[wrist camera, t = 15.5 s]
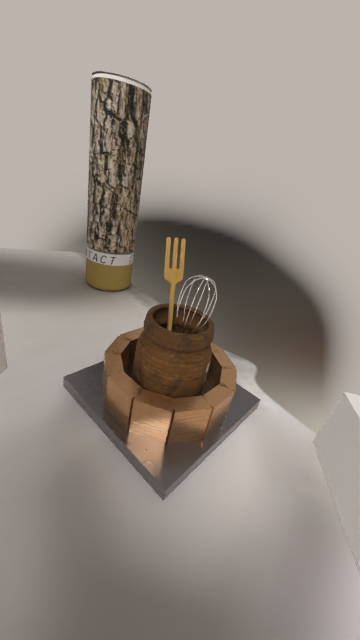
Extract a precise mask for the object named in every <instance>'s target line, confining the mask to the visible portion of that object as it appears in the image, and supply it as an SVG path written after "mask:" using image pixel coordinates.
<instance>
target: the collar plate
mask: <svg viewBox="0 0 360 640" xmlns="http://www.w3.org/2000/svg"><path fill="white" fill-rule="evenodd" d="M143 330H144V328H143V327H142V328H139V329H136V330H133V331H130V332H127V333H124V334H121V335H120V336H118V337H117V338H116V339H115V341H114V342H113V343H112V344H111V345H110V346H109V347H108V349H107V350H106V351H105V354H104V361H103V362H100V363H98V364H95V365H93V366H90V367H88V368H85V369H83V370H80V371H78V372H75V373H72V374H70V375H67V376H65V377H64V387H65V388H66V389H67V390H68V392H69V393H70V394H71V395H72V396H73V397H74V399H75V400H76V401H77V402H78V403H79V404H80V405H81V407H82V408H83V409H84V410H85V411H86V412H87V413H88V415H89V416H90V417H91V418H92V419H93V420H94V421H95V423H96V424H97V425H98V426H99V427H100V428H101V429H102V431H103V432H104V433H105V434H106V435H107V436H108V438H109V439H110V440H111V441H112V442H113V443H114V444H115V446H116V447H117V448H118V449H119V450H120V451H121V452H122V454H123V455H124V456H125V457H126V458H127V459H128V460H129V462H130V463H131V464H132V465H133V466H134V467H135V468H136V470H137V471H138V472H139V473H140V474H141V475H142V476H143V478H144V479H145V480H146V481H147V482H148V483H149V485H150V486H151V487H152V488H153V489H154V490H155V491H156V493H157V494H158V495H159V496H160V497H161V498H162V499H163V500H164V499H165V498H166V497H167V496H168V495H169V494H170V493H171V492H172V491H173V490H174V489H175V488H176V487H177V486H178V485H179V484H180V483H181V482H182V481H183V480H184V479H185V478H186V477H187V476H188V475H189V474H190V473H191V472H192V471H193V470H194V469H195V468H196V467H197V466H198V465H199V464H200V463H201V462H202V461H203V460H204V459H205V458H206V457H207V456H208V455H209V454H211V453H212V452H213V451H214V450H215V449H216V448H217V447H218V446H219V445H220V444H221V443H222V442H223V441H224V440H225V439H226V438H227V437H228V436H229V435H230V434H231V433H232V432H233V431H234V430H235V429H236V428H237V427H238V426H239V425H240V424H241V423H242V422H243V421H244V420H245V419H246V418H247V417H248V416H249V415H250V414H251V413H252V412H253V411H254V410H255V409H256V408H257V406H258V404H259V402H260V399H258V398H257V397H255V396H254V395H253V394H251V393H250V392H248V391H247V390H245V389H244V388H242V387H241V386H239V385H238V384H236V371H237V370H236V368H235V366H234V365H233V363H232V362H231V361H230V359H229V358H228V356H227V355H226V354H225V352H224V351H223V350H222V349H221V348H219V347H218V346H216V345H215V344H213V343H211V344H210V345H211V349H212V356H211V362H210V366H209V370H208V373H207V376H206V380H205V383H204V386H203V389H202V392H201V395H200V396H194V397H183V398H171V397H168V396H164V395H161V394H158V393H155V392H151V391H148V390H145V389H143V388H142V387H141V386H139V385H138V384H137V383H136V382H135V381H134V380H133V379H132V372H133V365H134V357H135V351H136V346H137V341H138V339H139V336H140V334H141V333H142V331H143Z"/></svg>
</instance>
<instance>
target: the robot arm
mask: <svg viewBox="0 0 360 640" xmlns="http://www.w3.org/2000/svg"><path fill="white" fill-rule="evenodd" d="M6 368H7V361H6V354H5V346H4V338H3V331H2V323H1V316H0V374H1V373H2V372H3V371H4V370H5V369H6ZM313 444H314V447H315V449H316V452H317V455H318V458H319V461H320V463H321V466H322V469H323V472H324V475H325V478H326V480H327V483H328V486H329V489H330V492H331V494H332V497H333V500H334V503H335V506H336V508H337V511H338V514H339V517H340V520H341V523H342V525H343V528H344V531H345V534H346V537H347V539H348V542H349V545H350V548H351V551H352V554H353V556H354V559H355V562H356V565H357V568H358V570H359V573H360V395H356V394H351V393H347V392H344V393H343V394H342V396H341V397H340V399H339V401H338V402H337V404H336V406H335V407H334V409H333V410H332V412H331V414H330V415H329V417H328V418H327V420H326V422H325V423H324V425H323V427H322V428H321V430H320V431H319V433H318V434H317V436H316V438H315V439H314V441H313Z"/></svg>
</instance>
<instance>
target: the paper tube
mask: <svg viewBox="0 0 360 640" xmlns="http://www.w3.org/2000/svg"><path fill="white" fill-rule="evenodd" d="M92 75H93V77H92V84H91V86H92V87H91V118H90V119H91V120H90V151H89V185H88V218H87V251H86V280H87V282H88V283H89V284H90V285H91V286H93V287H94V288H97V289H100V290H106V291H119V290H123V289H125V288H127V287H128V286H129V285H130V282H131V273H132V264H133V256H134V247H135V238H136V229H137V220H138V212H139V203H140V194H141V184H142V176H143V166H144V158H145V149H146V140H147V131H148V121H149V111H150V103H151V92H152V90H151V89H150V88H149V87H148V86H147V85H145V84H143V83H141V82H139V81H137V80H134V79H132V78H129V77H126V76H123V75H119V74H115V73H110V72H103V71H96V72H93V73H92Z"/></svg>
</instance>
